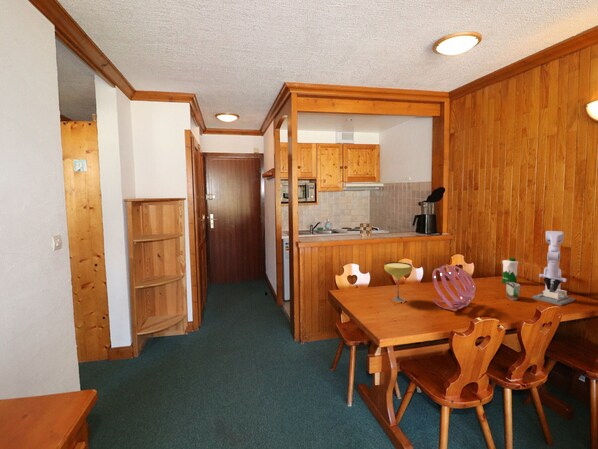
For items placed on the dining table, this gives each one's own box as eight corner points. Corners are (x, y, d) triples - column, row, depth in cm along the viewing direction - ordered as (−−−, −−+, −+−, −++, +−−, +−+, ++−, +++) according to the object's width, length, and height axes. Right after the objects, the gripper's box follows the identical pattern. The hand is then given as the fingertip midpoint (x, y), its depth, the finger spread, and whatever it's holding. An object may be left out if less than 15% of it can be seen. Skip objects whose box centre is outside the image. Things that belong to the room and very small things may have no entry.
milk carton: (518, 284, 243) (520, 259, 241) (509, 285, 241) (510, 259, 239) (508, 281, 251) (509, 257, 249) (499, 282, 249) (500, 257, 247)
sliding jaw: (546, 294, 211) (547, 282, 210) (560, 298, 204) (561, 285, 203) (543, 295, 209) (544, 283, 208) (557, 299, 202) (558, 286, 201)
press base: (546, 294, 218) (546, 286, 218) (574, 300, 204) (575, 292, 204) (532, 298, 210) (532, 290, 210) (560, 305, 196) (561, 297, 196)
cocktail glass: (417, 301, 209) (418, 265, 207) (399, 307, 200) (399, 269, 198) (396, 294, 225) (396, 260, 222) (378, 299, 215) (378, 264, 213)
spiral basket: (411, 274, 205) (448, 255, 188) (433, 277, 222) (468, 260, 205) (429, 316, 191) (471, 300, 174) (451, 315, 208) (491, 301, 191)
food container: (524, 301, 204) (524, 286, 204) (513, 301, 206) (514, 286, 205) (515, 295, 217) (515, 281, 216) (505, 295, 218) (505, 281, 217)
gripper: (537, 268, 209) (536, 288, 210) (563, 273, 196) (562, 293, 197) (542, 267, 212) (541, 286, 213) (568, 271, 199) (567, 292, 201)
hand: (551, 290), depth 206 cm, fingers closed on sliding jaw, 3 cm apart
